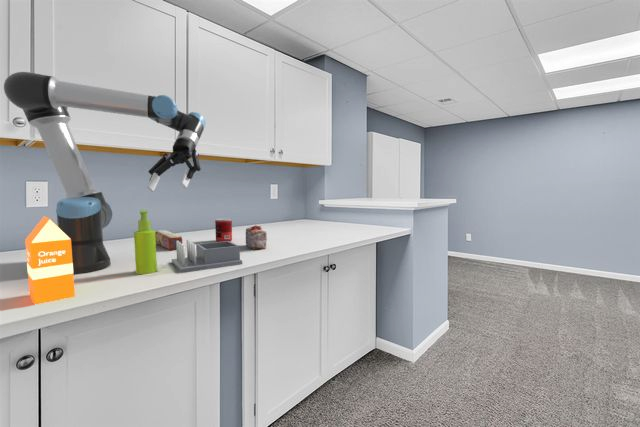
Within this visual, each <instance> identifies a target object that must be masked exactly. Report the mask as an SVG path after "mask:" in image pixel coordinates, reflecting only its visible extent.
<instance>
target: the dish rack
mask: <svg viewBox="0 0 640 427" xmlns="http://www.w3.org/2000/svg"><path fill="white" fill-rule="evenodd" d="M185 247H186V248H185ZM240 248H241V247H240V245H238V244H237V243H235V242H232V241H223V242H216V241H214V242H205V243H194V242H192V241H191V240H190V239H187V240H186V246H185V244H181V242H179V241H176V249H177V250H176V258H172V259H171V264H172V265H173V266H174V267H175V269H176V270H177V271H178V272H179V273H180V274H182V273H183V274H184V273H191V272H198V271H204V270H210V269H218V268H224V267H232V266H239V265H243V260H242V259H241V257H240V256H241V252H240V250H241V249H240ZM186 255H187V256H186Z"/></svg>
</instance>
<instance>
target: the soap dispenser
mask: <svg viewBox="0 0 640 427" xmlns="http://www.w3.org/2000/svg"><path fill="white" fill-rule="evenodd" d="M139 214H140V219H139V220H138V221H137V223H138V225H137V226H138V230H135V231H134V232H133V237H134V238H133V240H134V256H135V257H134V258H135V260H134V261H135V274H137V275H147V274H154V273H156V272H157V271H158V268H157V262H158V261H157V246H156V245H157V243H156V239H155V233H156V230H152V229H151V220H150V219H149V218H148V209H140V210H139Z"/></svg>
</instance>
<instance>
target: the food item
mask: <svg viewBox="0 0 640 427" xmlns="http://www.w3.org/2000/svg"><path fill="white" fill-rule="evenodd" d="M267 240H268V236H267V231H265V230H263V228H262V227H261V225H257V224H256V225H253V226H249V227H247V228H246V229H245V245H246V246H247V247H248V249H252V250H264V249H265V250H266V249H267Z"/></svg>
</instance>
